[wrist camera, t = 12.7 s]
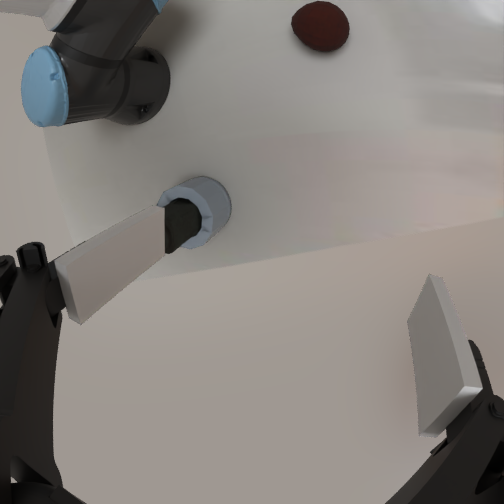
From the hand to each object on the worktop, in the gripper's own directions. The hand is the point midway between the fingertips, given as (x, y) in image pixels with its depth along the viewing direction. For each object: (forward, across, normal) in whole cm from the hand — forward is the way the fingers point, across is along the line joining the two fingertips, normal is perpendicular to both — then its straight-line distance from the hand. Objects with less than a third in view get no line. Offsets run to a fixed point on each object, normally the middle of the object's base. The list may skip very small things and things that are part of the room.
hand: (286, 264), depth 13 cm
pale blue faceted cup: (+33, -20, -11) cm, 40 cm away
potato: (+33, -4, +20) cm, 39 cm away
